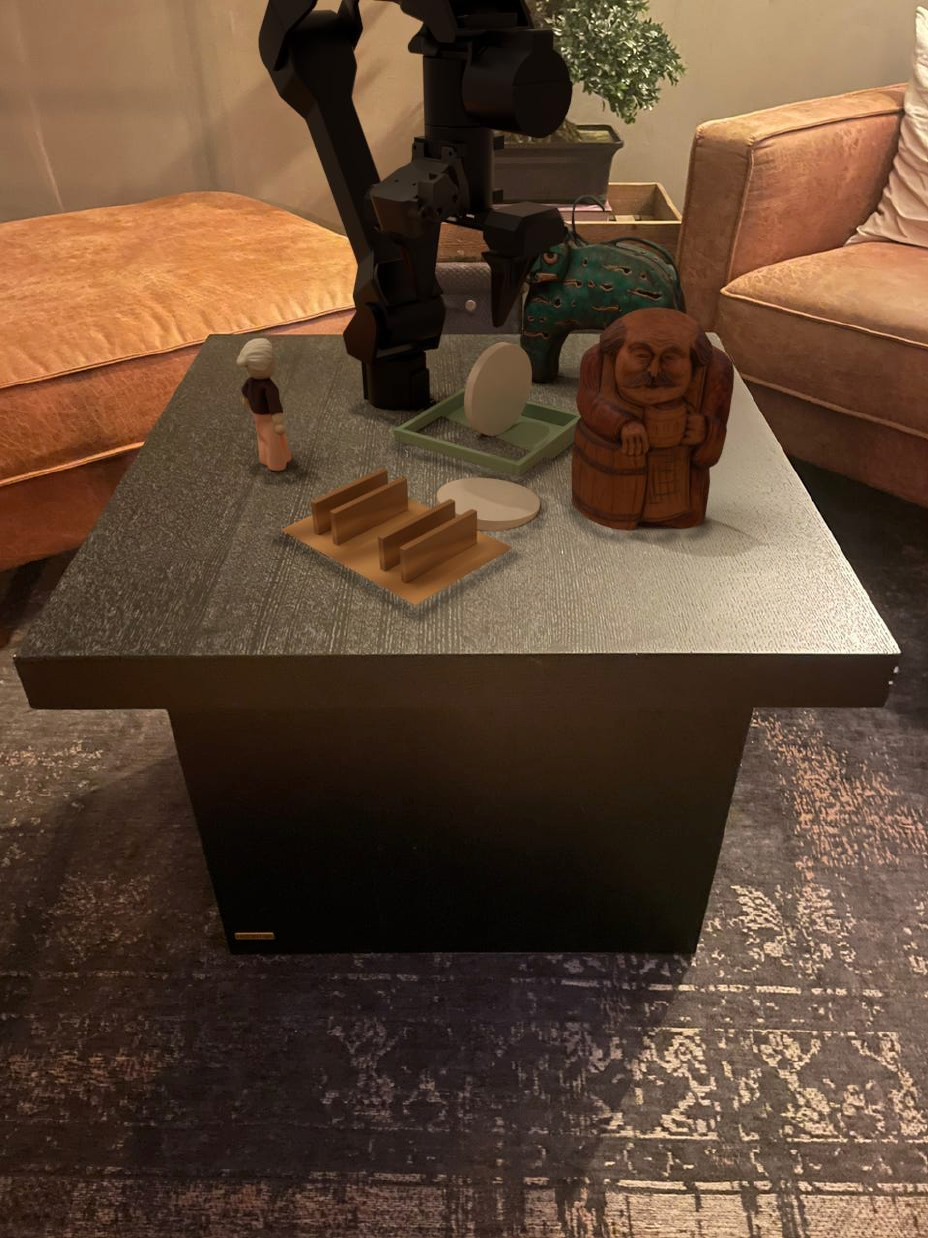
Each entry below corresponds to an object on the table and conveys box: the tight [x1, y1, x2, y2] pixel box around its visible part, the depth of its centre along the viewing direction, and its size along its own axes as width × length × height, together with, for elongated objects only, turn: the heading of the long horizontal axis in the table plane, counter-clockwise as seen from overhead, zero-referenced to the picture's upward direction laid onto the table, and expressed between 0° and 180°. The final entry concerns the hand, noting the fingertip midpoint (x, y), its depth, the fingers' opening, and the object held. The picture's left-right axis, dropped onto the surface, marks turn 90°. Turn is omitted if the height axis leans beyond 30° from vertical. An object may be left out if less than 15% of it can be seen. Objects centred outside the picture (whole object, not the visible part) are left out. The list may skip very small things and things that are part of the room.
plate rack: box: [280, 467, 513, 606], centre depth 75 cm, size 16×11×4 cm
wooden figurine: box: [571, 307, 735, 531], centre depth 74 cm, size 12×6×18 cm, turn 89°
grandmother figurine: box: [235, 337, 293, 472], centre depth 83 cm, size 8×4×13 cm, turn 47°
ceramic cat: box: [519, 194, 688, 384], centre depth 97 cm, size 20×6×20 cm, turn 58°
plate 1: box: [464, 341, 533, 437], centre depth 90 cm, size 1×9×9 cm, turn 137°
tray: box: [393, 386, 581, 478], centre depth 91 cm, size 14×13×2 cm
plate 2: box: [435, 477, 541, 532], centre depth 80 cm, size 1×9×9 cm
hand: (460, 315), depth 84 cm, fingers open, 9 cm apart
